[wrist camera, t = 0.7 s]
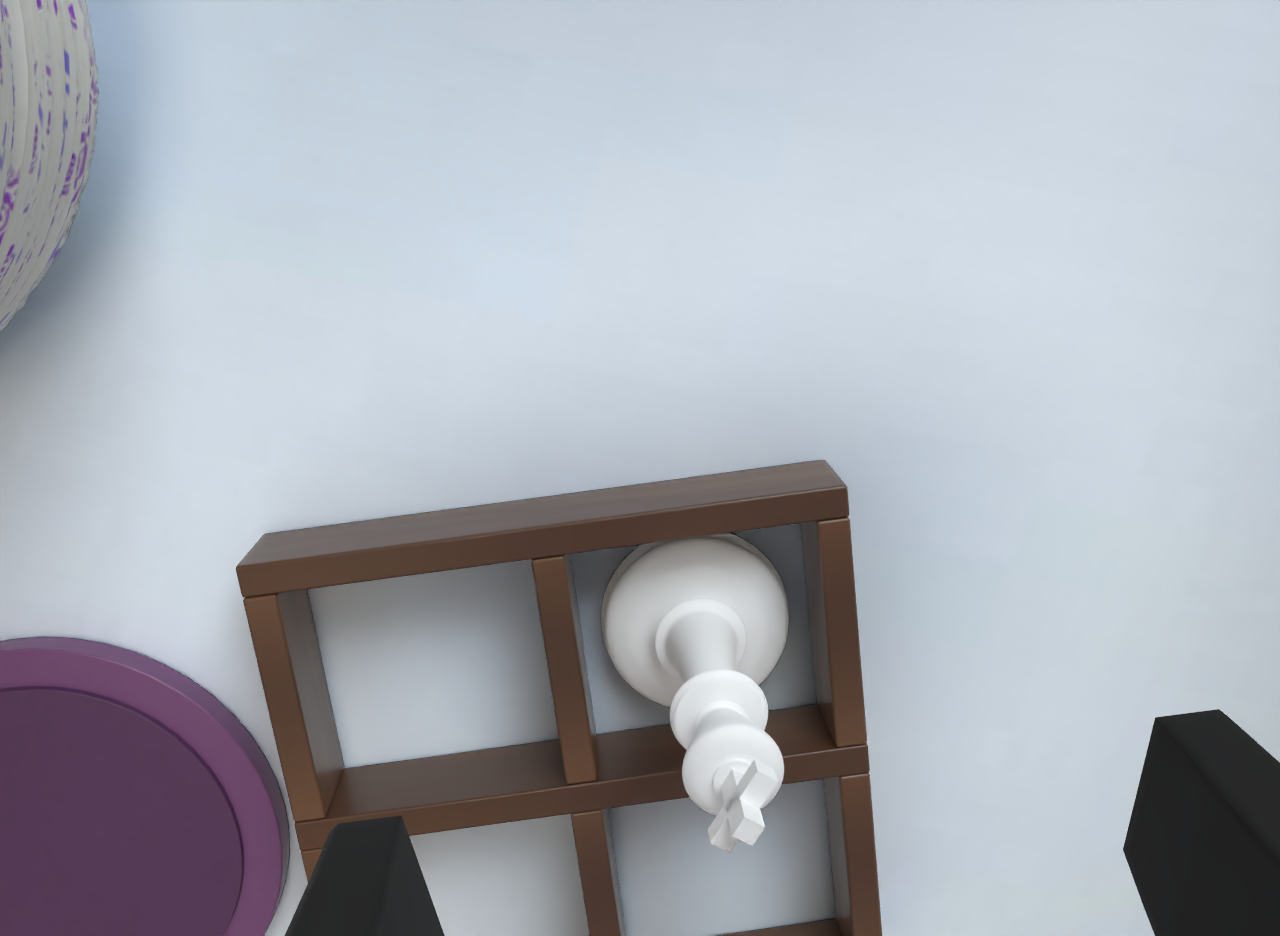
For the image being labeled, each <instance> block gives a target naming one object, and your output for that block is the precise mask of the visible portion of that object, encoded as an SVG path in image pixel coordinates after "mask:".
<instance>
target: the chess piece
mask: <svg viewBox="0 0 1280 936" xmlns="http://www.w3.org/2000/svg"><path fill="white" fill-rule="evenodd" d="M788 626H789V615H788V604H787V597H786V593H785V589H784V586H783V583H782V581H781V579H780V576H779V575H778V573H777V571H776V569H775V568H774V566H773V565H772V563H771V562H770V561H769V560H768V559H767V557H766V556H765V555H764V554H763V553H762V552H761V551H759V550H758V549H757V548H756V547H755V546H753V545H752V544H750V543H749V542H747V541H746V540H744V539H742V538H740V537H738V536H736V535H733V534H731V533H723V534H715V535H708V536H700V537H693V538H685V539H678V540H670V541H663V542H656V543H648V544H642V545H641V546H639V547H638V548H636V549H635V550H634V551H633V552H632V553H630V554H629V555H628V556H627V557H626V558H625V559H624V560H623V562H622V563H621V564H620V565H619V567H618V568H617V569H616V571H615V572H614V574H613V576H612V577H611V579H610V581H609V583H608V586H607V588H606V591H605V594H604V598H603V602H602V608H601V628H602V634H603V639H604V642H605V645H606V648H607V650H608V653H609V655H610V657H611V660H612V662H613V664H614V665H615V667H616V669H617V670H618V672H619V673H620V675H621V676H622V677H623V679H624V680H625V681H626V682H627V683H628V684H629V685H630V686H631V687H632V688H633V689H635V690H636V691H637V692H638V693H640V694H641V695H643V696H644V697H646V698H648V699H650V700H652V701H654V702H656V703H659V704H661V705H664V706H667V707H671V708H670V724H671V728H672V731H673V733H674V735H675V737H676V739H677V740H678V742H679V743H680V744H681V745H682V746H683V747H684V748H685V749H686V750H687V751H686V754H685V756H684V760H683V765H682V779H683V783H684V787H685V789H686V792H687V793H688V795H689V797H690V798H691V800H692V801H693V802H694V803H695V804H696V805H697V806H698V807H700V808H701V809H702V810H704V811H706V812H708V813H710V814H712V815H715V816H716V817H715V819H714V821H713V822H712V824H711V825H710V827H709V828H708V835H709V840H710V843H711V844H713V845H715V846H717V847H719V848H721V849H723V850H726V851H728V852H731V850H732V849H733V847H734V846H735V844H736V843H737V841H738V840H741V841H743V842H745V843H747V844H749V845H751V846H753V845H754V843H755V842H756V840H757V839H758V837H759V836H760V834H761V833H762V831H763V830H764V828H765V825H764V821H763V818H762V814H761V809H762V808H763V807H765V806H766V805H767V804H768V803H769V802H770V801H771V800H772V799H773V798H774V797H775V796H776V794H777V793H778V791H779V789H780V787H781V784H782V781H783V776H784V762H783V757H782V754H781V752H780V750H779V747H778V746H777V744H776V743H775V741H774V740H773V739H772V738H771V737H770V736H769V735H768V734H767V733H766V732H765V731H764V730H765V727H766V724H767V720H768V705H767V701H766V698H765V695H764V693H763V692H762V690H761V689H760V687H759V685H760V684H761V683H762V682H763V681H764V680H765V679H766V678H767V677H768V675H769V674H770V673H771V672H772V670H773V669H774V667H775V666H776V664H777V662H778V661H779V659H780V657H781V654H782V652H783V650H784V647H785V644H786V640H787V635H788Z"/></svg>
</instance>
